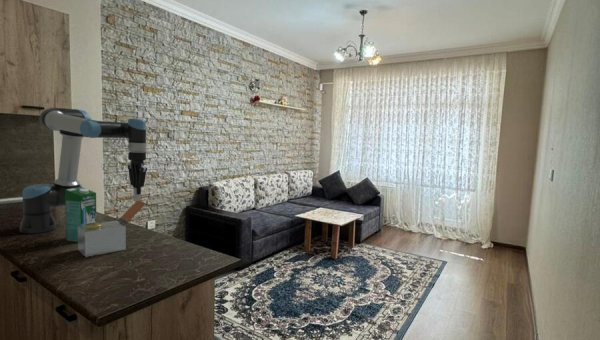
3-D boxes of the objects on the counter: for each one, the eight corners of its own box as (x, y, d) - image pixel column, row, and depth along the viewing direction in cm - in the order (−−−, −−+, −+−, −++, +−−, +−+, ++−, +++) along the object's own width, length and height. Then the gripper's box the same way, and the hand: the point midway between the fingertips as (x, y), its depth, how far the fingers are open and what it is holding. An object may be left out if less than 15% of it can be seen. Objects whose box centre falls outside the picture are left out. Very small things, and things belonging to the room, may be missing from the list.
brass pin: (84, 250, 148) (83, 223, 147) (100, 247, 153) (100, 221, 152) (88, 254, 144) (87, 227, 143) (104, 251, 149) (104, 224, 147)
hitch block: (78, 249, 149) (77, 225, 148) (117, 242, 160) (116, 220, 159) (85, 257, 141) (84, 232, 140) (125, 249, 152) (125, 226, 151)
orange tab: (120, 221, 159) (118, 219, 158) (139, 201, 164) (137, 199, 163) (126, 225, 153) (124, 223, 152) (146, 204, 158) (144, 202, 158)
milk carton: (81, 242, 158) (80, 190, 156) (65, 240, 160) (64, 189, 157) (97, 236, 167) (96, 188, 165) (81, 235, 169) (80, 186, 166)
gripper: (121, 150, 157) (122, 199, 160) (137, 152, 150) (137, 204, 153) (137, 150, 163) (136, 197, 166) (152, 152, 156) (152, 201, 159)
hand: (137, 200), depth 159 cm, fingers closed
